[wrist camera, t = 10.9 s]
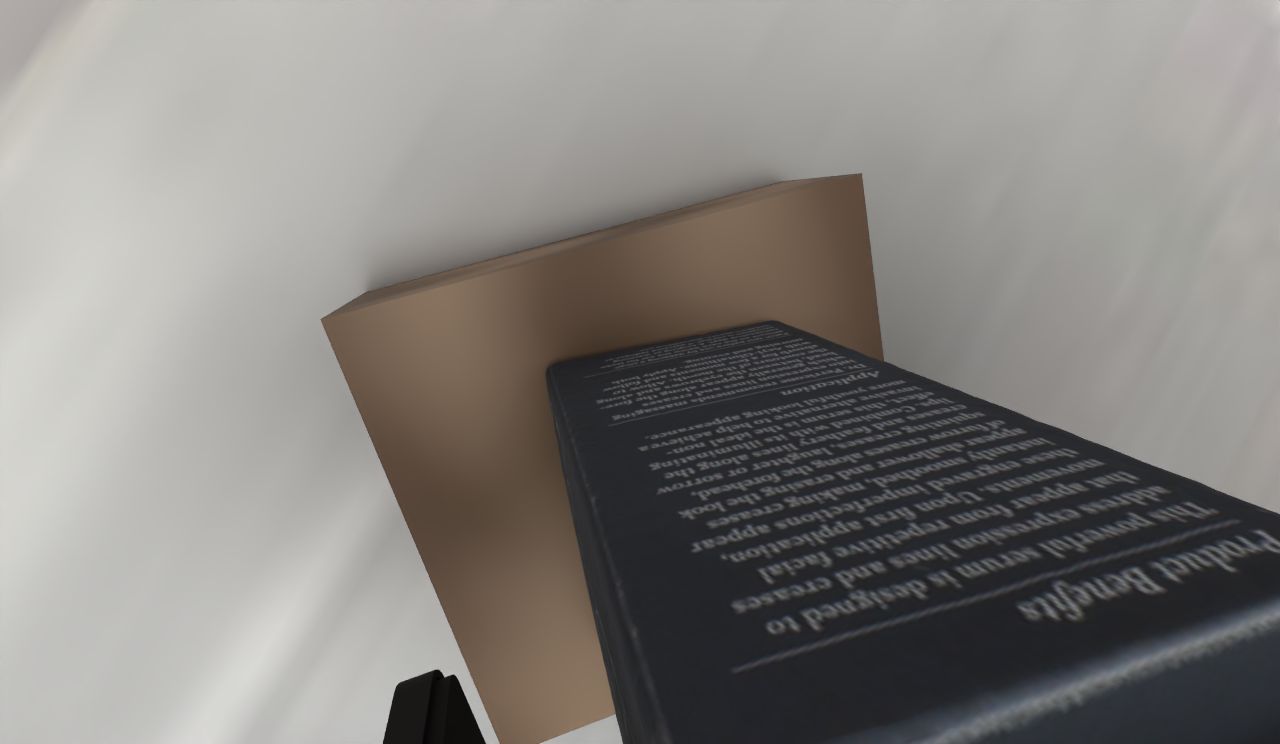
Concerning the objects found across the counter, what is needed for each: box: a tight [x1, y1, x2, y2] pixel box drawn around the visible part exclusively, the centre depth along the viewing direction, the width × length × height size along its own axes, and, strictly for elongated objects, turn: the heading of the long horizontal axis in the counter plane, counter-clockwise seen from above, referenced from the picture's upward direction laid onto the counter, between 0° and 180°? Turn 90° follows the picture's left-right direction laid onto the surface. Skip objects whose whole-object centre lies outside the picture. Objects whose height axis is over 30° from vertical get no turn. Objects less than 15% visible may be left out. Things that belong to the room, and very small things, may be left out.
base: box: [321, 173, 884, 744], centre depth 16 cm, size 12×12×4 cm
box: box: [546, 320, 1280, 744], centre depth 10 cm, size 8×6×11 cm
